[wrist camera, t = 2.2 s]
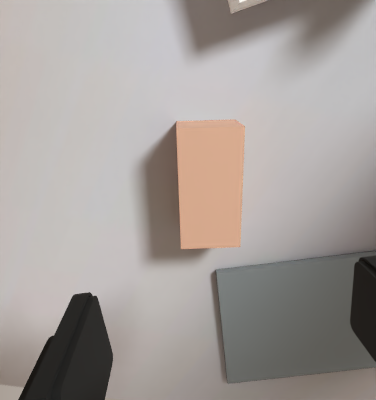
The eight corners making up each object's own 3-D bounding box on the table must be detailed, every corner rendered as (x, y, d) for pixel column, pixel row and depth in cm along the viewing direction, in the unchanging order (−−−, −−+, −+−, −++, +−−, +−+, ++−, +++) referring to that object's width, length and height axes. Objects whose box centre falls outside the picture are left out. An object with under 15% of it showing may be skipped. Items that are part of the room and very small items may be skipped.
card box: (234, 119, 24) (244, 126, 20) (231, 224, 27) (240, 246, 24) (176, 120, 24) (176, 128, 20) (180, 225, 27) (180, 249, 24)
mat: (433, 244, 28) (439, 247, 28) (412, 358, 33) (416, 362, 33) (215, 269, 29) (216, 273, 28) (226, 378, 34) (227, 383, 33)
